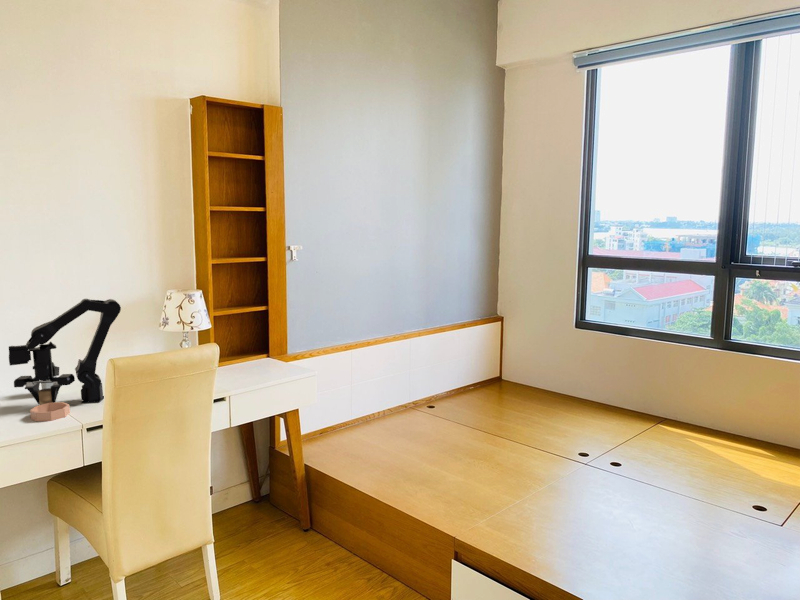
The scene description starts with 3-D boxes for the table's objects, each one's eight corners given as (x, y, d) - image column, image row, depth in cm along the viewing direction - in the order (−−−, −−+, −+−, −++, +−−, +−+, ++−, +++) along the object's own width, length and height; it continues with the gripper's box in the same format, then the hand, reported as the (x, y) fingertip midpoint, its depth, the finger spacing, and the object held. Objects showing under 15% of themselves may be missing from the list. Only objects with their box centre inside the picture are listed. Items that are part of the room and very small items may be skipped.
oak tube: (56, 405, 232) (54, 387, 231) (51, 409, 228) (49, 391, 227) (43, 405, 232) (41, 388, 231) (37, 409, 227) (36, 391, 226)
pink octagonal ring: (73, 409, 227) (72, 401, 226) (61, 420, 216) (60, 411, 216) (40, 411, 225) (39, 403, 225) (26, 421, 214) (25, 413, 214)
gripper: (78, 355, 236) (81, 395, 239) (25, 357, 234) (29, 397, 236) (67, 362, 225) (70, 404, 228) (11, 364, 223) (15, 407, 225)
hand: (46, 403), depth 230 cm, fingers closed on oak tube, 5 cm apart
